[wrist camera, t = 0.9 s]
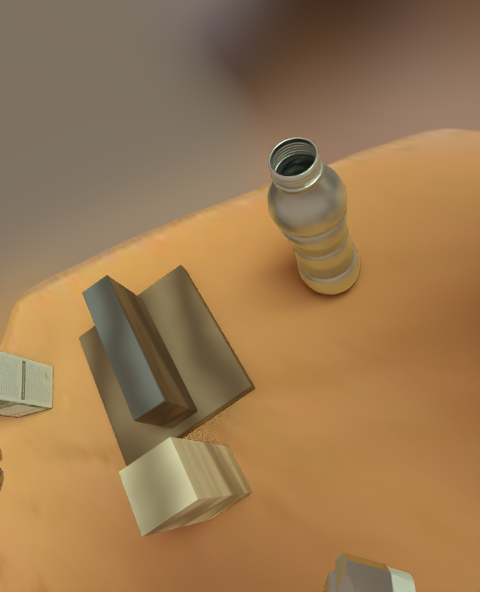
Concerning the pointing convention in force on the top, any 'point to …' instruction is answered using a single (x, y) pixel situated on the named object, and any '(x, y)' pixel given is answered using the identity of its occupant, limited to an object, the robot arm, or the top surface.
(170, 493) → the ash post
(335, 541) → the top surface
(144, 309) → the ridge
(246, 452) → the top surface
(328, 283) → the plastic bottle
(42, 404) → the syrup box
